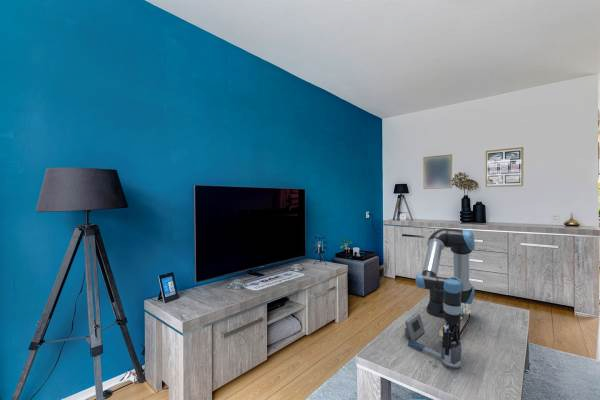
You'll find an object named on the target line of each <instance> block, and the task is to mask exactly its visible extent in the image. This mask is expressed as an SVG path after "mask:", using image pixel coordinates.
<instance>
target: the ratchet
mask: <svg viewBox="0 0 600 400" xmlns="http://www.w3.org/2000/svg"><path fill="white" fill-rule="evenodd" d="M407 346H408V347H409V348H412V349H414V350H415V351H418V352H420V353H423V354H426V355H428V356H430V357H431V358H433V359H435V360H438V361H440V362H441V363H442V365H443V366H444V367H446V368H447V369H451V370H460V369H461V360H460V361H459V362H458V363H456V364H453V363H449V362H447V361H445V360H444V359H442V358H441V352H437V351H436V350H434V349H431V348H429V347H427V346H426V345H425V344H423V343H421V342H419V341H417V340H412V339H410V340H408V341H407Z"/></svg>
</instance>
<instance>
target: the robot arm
mask: <svg viewBox="0 0 600 400" xmlns="http://www.w3.org/2000/svg"><path fill="white" fill-rule="evenodd" d="M474 235H475V234H474V232H473V231H472V230H468V229H465V228H464V229H454V228H440V229H438V230H436V231H434V232H432V234H430V235H429V237H428V239H427V242H426V244H427V245H426V246H427V247H428V248H427V250H426V254H425V259H424V261H423V262H424V263H423V266H422V272H421V273H417V274H416V276H415V285H416V288H419V289H423V290H428V291H429V301H428V303H427V306H426V313H428V314H429V315H431V316H433V317H437V318H443V320H444V321H445V327H444V326H443V327H442V341H441V342H442V347H443V348H445V358H444V360H445V361H447V362H449V363H451V349H450V346H451V340H452V339H453V340H455V341H456V342H459V343H461V321H462V319H461V317H462V314H461V313H462V304H466V305H472V304H473V301H474V296H475V286H473V285H472V283H471V281H470V254H471V253H472V251H473V250H474V251H475V248H476V245H475V236H474ZM444 248H450V251H451V252H452V253H453V255H452V256H453V277H444V276H443V277H442V276H438V271H439V266H440V261H441V256H442V250H443V249H444Z"/></svg>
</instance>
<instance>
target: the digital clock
mask: <svg viewBox="0 0 600 400" xmlns="http://www.w3.org/2000/svg"><path fill="white" fill-rule="evenodd" d="M404 323H405V328H404V336H405V337H408V338H409V339H410V340H411V339H412V340H414V341H416V340H417V339H418V338H419V337H421V336H422V335H423V334H424V333H425V332H426V330H425V325H424V323H423V320H422V318H421V315H420V313H418V312H417V313H415V314H413V315H412V316H410V317H409V318H407V320H405V322H404Z"/></svg>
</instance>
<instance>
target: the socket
mask: <svg viewBox="0 0 600 400" xmlns="http://www.w3.org/2000/svg"><path fill="white" fill-rule="evenodd" d="M459 342H460V341H459ZM459 342H456V341H455V340H453V339H452V340H451V346H450V349H451V363H453V364H456V363H458V362H459V361H461V360H462V342H460V343H459ZM440 348H441V349H440V350H441V352H440V354H441V358H442V359H444V358H445V348H443V347H442V341H441V346H440Z"/></svg>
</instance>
